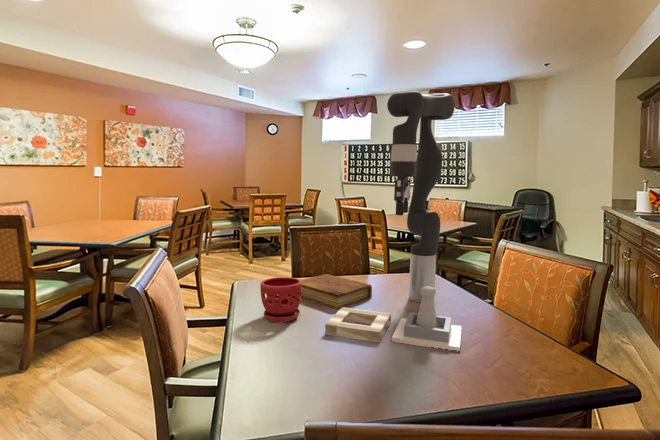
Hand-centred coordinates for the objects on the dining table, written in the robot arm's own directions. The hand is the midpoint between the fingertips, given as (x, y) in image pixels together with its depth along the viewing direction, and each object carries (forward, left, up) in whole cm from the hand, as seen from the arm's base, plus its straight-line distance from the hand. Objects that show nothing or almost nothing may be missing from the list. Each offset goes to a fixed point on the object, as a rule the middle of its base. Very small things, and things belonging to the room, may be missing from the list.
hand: (401, 213), depth 124 cm
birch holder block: (+10, -10, -34) cm, 37 cm away
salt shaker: (+8, +9, -33) cm, 35 cm away
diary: (-17, -28, -35) cm, 48 cm away
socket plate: (+8, +10, -34) cm, 36 cm away
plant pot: (+10, -36, -34) cm, 51 cm away
